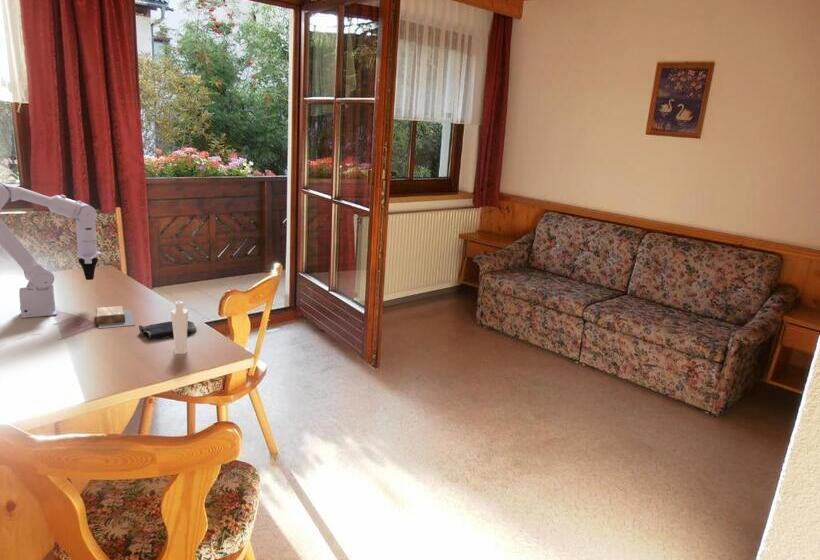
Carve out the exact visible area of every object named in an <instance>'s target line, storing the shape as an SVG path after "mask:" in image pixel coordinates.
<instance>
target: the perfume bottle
mask: <svg viewBox="0 0 820 560" xmlns="http://www.w3.org/2000/svg"><path fill="white" fill-rule="evenodd" d="M174 303H175V308H174V309H172V310H170V315H171V317H170V318H171V321H172V326H173V335H174V336H173V341H174V348H173V352H174V353H175V355H182V354H187V353H188V351H189V349H188V346H187V341H188V334H187V325H188V321H189V310H188V309H186V308H184V301H181V300H179V301H175V302H174Z"/></svg>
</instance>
